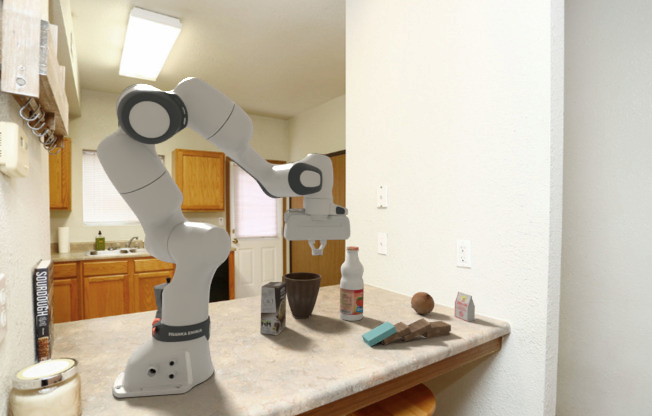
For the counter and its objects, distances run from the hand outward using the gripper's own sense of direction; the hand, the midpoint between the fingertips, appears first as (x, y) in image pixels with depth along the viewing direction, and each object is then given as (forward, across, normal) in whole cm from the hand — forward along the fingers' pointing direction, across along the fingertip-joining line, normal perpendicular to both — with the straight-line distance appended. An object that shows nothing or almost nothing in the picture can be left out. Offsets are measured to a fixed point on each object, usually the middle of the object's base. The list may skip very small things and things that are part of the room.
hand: (317, 255), depth 100 cm
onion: (+29, +55, +22) cm, 66 cm away
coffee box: (+29, -8, +22) cm, 38 cm away
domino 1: (+28, +23, +1) cm, 36 cm away
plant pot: (+29, +6, +34) cm, 45 cm away
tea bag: (+29, +67, +11) cm, 74 cm away
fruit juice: (+29, +24, +26) cm, 46 cm away
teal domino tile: (+28, +18, +1) cm, 33 cm away
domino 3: (+27, +39, +1) cm, 47 cm away
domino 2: (+28, +31, +1) cm, 41 cm away
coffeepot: (+29, -43, +33) cm, 62 cm away
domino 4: (+29, +39, +1) cm, 49 cm away
